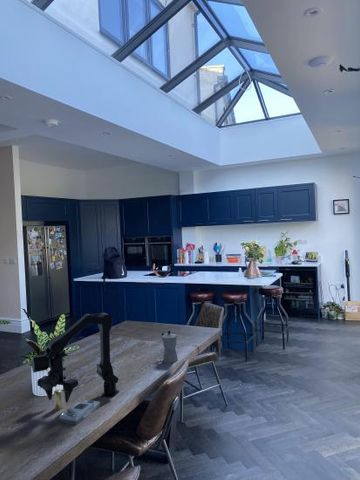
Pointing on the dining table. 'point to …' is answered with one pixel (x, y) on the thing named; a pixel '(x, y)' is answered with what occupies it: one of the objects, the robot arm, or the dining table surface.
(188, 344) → the dining table surface
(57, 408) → the pin
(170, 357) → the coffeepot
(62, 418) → the slotted mounting bracket
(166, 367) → the dining table surface
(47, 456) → the dining table surface
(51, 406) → the dining table surface
